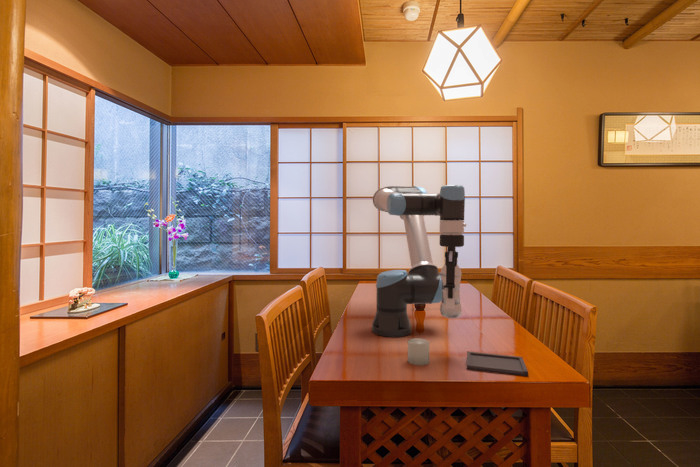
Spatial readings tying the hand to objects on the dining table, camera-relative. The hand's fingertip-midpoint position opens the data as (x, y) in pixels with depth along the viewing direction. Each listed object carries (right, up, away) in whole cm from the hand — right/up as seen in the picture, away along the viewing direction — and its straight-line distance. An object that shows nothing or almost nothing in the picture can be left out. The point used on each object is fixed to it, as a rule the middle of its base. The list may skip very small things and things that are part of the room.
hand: (450, 305), depth 120 cm
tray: (+11, -16, -10) cm, 21 cm away
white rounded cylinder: (-12, -16, -7) cm, 21 cm away
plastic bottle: (0, -4, 0) cm, 4 cm away
